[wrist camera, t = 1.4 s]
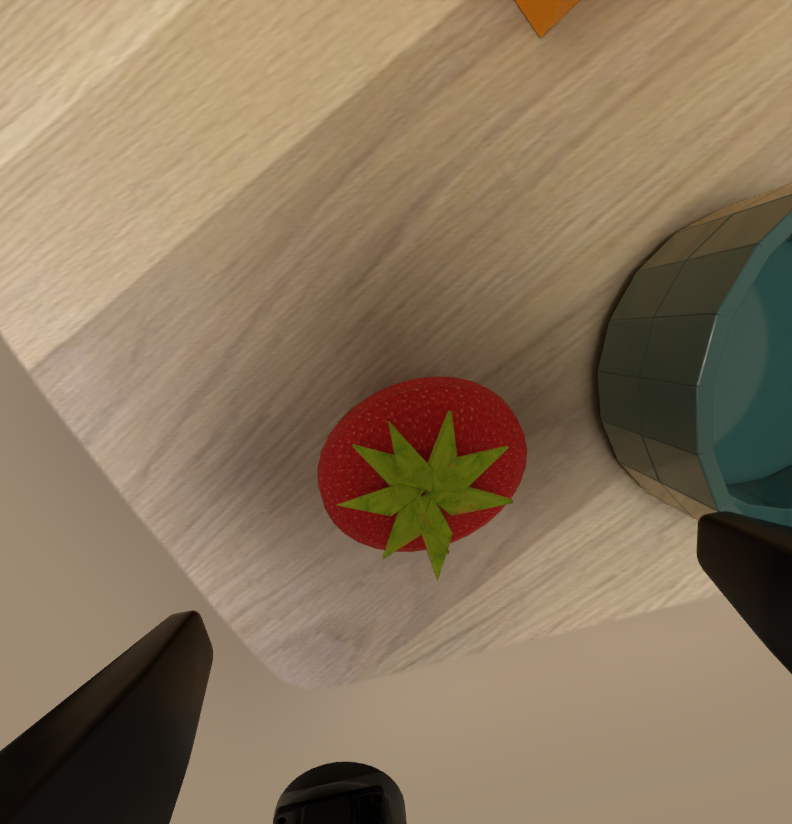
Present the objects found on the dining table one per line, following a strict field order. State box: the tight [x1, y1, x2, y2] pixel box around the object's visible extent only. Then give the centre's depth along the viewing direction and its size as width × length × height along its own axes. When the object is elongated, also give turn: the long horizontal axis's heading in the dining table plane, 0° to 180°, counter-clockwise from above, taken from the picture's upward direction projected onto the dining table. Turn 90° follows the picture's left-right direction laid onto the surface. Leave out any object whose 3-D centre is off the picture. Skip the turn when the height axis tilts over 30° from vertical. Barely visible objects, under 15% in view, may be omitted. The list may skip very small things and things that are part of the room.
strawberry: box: [318, 377, 527, 581], centre depth 15 cm, size 6×8×10 cm
